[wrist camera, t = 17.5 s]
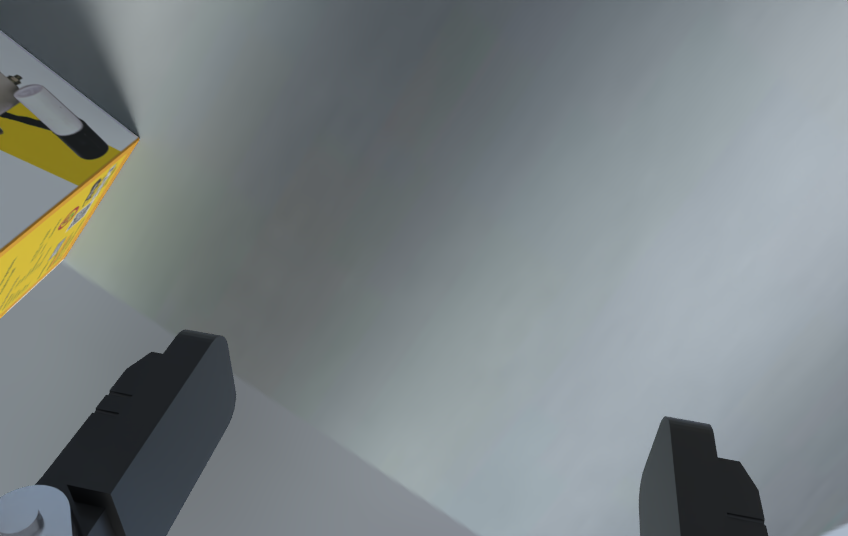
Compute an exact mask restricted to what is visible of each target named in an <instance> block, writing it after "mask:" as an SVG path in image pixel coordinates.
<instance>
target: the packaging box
mask: <svg viewBox="0 0 848 536" xmlns="http://www.w3.org/2000/svg"><path fill="white" fill-rule="evenodd" d="M138 141H139V137H137V136H136V135H135V134H134V133H132V132H131V131H130V130H128V129H127V128H126V127H125V126H123V125H122V124H121V123H119V122H118V121H117V120H116V119H114V118H113V117H112V116H110V115H109V114H108V113H106V112H105V111H104V110H103V109H101V108H100V107H99V106H97V105H96V104H95V103H94V102H92V101H91V100H90V99H88V98H87V97H86V96H85V95H83V94H82V93H81V92H79V91H78V90H77V89H76V88H74V87H73V86H72V85H70V84H69V83H68V82H66V81H65V80H64V79H63V78H61V77H60V76H59V75H57V74H56V73H55V72H54V71H52V70H51V69H50V68H48V67H47V66H46V65H45V64H43V63H42V62H41V61H39V60H38V59H37V58H36V57H34V56H33V55H32V54H30V53H29V52H28V51H27V50H25V49H24V48H23V47H21V46H20V45H19V44H17V43H16V42H15V41H14V40H12V39H11V38H10V37H8V36H7V35H6V34H5V33H3V32H2V31H1V30H0V318H1V317H2V316H3V315H4V314H6V313H7V312H8V311H9V310H10V309H11V308H12V307H13V306H14V305H15V304H16V303H17V302H18V301H19V300H21V299H22V298H23V297H24V296H25V295H26V294H27V293H28V292H29V291H30V290H31V289H32V288H33V287H35V286H36V285H37V284H38V283H39V282H40V281H41V280H42V279H43V278H44V277H46V275H48V274H49V273H50V272H51V271H52V270H53V269H54V268H55V267H56V266H57V265H58V264H60V263H61V262H62V261H63V260H64V259H65V257H66V255H67V254H68V252H69V251H70V249H71V247H72V246H73V244H74V243H75V241H76V240H77V238H78V236H79V235H80V233H81V232H82V230H83V228H84V227H85V225H86V224H87V222H88V220H89V219H90V217H91V216H92V214H93V213H94V211H95V209H96V208H97V206H98V205H99V203H100V201H101V200H102V198H103V197H104V195H105V193H106V192H107V190H108V189H109V187H110V186H111V184H112V182H113V181H114V179H115V178H116V176H117V174H118V173H119V171H120V170H121V168H122V166H123V165H124V163H125V162H126V160H127V159H128V157H129V155H130V154H131V152H132V151H133V149H134V147H135V146H136V144H137V143H138Z"/></svg>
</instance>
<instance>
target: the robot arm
mask: <svg viewBox="0 0 848 536" xmlns="http://www.w3.org/2000/svg"><path fill="white" fill-rule="evenodd" d="M235 400H236V391H235V385H234V379H233V373H232V367H231V361H230V356H229V350H228V344H227V341H226V339H225V337H223V336H219V335H214V334H208V333H202V332H197V331H191V330H183V331H181V332H180V333H179V334H178V335H177V336H176V337H175V339H174V340H173V341H172V343H171V344H170V345H169V347H168V348H167V350H166V351H165V352H164V353H163V354H161V353H155V352H151V353H149V354H148V355H146V356H145V357H143V358H142V359H140V360H139V361H137V362H136V363H135V364H133V365H132V366H130V367H129V368H127V369H126V370H125V372H124V373H123V374H122V375H121V377H120V378H119V379H118V380H117V382H116V383H115V384H114V386H113V387H112V388H111V390H110V393H109V395H106V396H105V397H104V399H103V400H102V401H101V402H100V403H99V405H98V406H97V407H96V411H95V413H92V414H91V415H90V416H89V418H88V419H87V420H86V421H85V423H84V424H83V425H82V426H81V428H80V429H79V430H78V432H77V433H76V434H75V435H74V437H73V438H72V439H71V441H70V442H69V443H68V444H67V446H66V447H65V448H64V449H63V451H62V452H61V453H60V455H59V456H58V457H57V458H56V460H55V461H54V462H53V464H52V465H51V466H50V467H49V469H48V470H47V471H46V472H45V474H44V475H43V477H41V479H40V480H39V481H38V482H37V483H36V484H35V485H32V486H26V487H22V488H18V489H16V490H13V491H11V492H9V493H7V494H5V495H3V496H1V497H0V536H166V535H167V533H168V531H169V529H170V528H171V526H172V524H173V523H174V521H175V519H176V517H177V515H178V514H179V512H180V510H181V508H182V507H183V505H184V503H185V501H186V499H187V498H188V496H189V494H190V492H191V491H192V489H193V487H194V485H195V483H196V482H197V480H198V478H199V476H200V475H201V473H202V471H203V469H204V468H205V466H206V464H207V462H208V460H209V459H210V457H211V455H212V453H213V451H214V449H215V448H216V446H217V444H218V442H219V441H220V439H221V437H222V436H223V434H224V432H225V430H226V428H227V427H228V425H229V423H230V420H231V418H232V415H233V412H234V407H235ZM639 519H640V536H768V533H767V528H766V526H765V525H764V520H765V519H764V514H763V510H762V505H761V500H760V496H759V491H758V489H757V487H756V486H755V484H754V483H753V481H752V480H751V478H750V477H749V475H748V473H747V472H746V470H745V469H744V467H743V466H742V464H741V463H740V462H739V461H733V460H728V459H723V458H718V457H717V451H716V445H715V439H714V433H713V429H712V427H711V425H710V424H705V423H700V422H694V421H689V420H683V419H677V418H672V417H666V416H665V417H664V418H663V419H662V421H661V423H660V426H659V429H658V432H657V434H656V437H655V440H654V443H653V445H652V448H651V451H650V454H649V457H648V459H647V462H646V465H645V468H644V471H643V474H642V479H641V484H640V493H639Z"/></svg>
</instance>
